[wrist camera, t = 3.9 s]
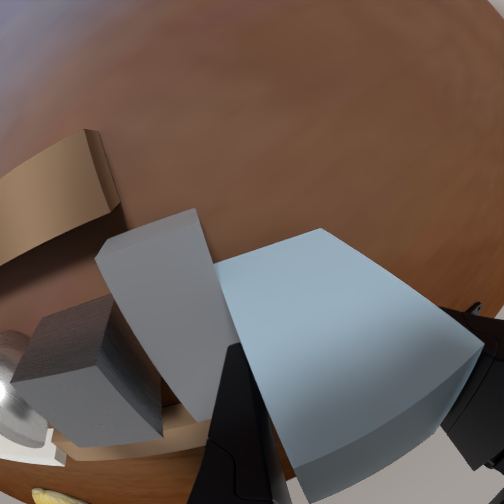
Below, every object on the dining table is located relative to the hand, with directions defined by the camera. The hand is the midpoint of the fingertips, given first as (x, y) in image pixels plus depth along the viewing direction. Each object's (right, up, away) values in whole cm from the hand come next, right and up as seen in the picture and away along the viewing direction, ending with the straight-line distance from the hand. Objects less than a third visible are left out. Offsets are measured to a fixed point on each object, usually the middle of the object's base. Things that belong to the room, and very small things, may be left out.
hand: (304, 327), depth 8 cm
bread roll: (-26, -29, +8) cm, 40 cm away
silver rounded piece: (-13, -3, +1) cm, 13 cm away
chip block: (-8, -1, +2) cm, 8 cm away
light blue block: (-2, 0, +2) cm, 3 cm away
